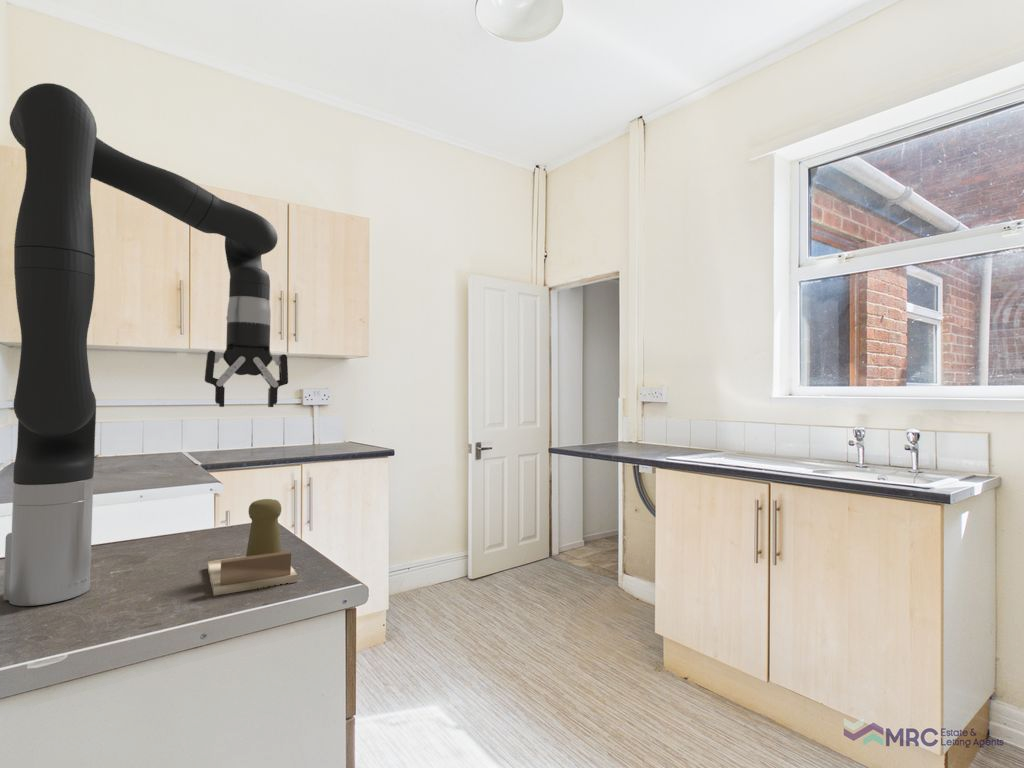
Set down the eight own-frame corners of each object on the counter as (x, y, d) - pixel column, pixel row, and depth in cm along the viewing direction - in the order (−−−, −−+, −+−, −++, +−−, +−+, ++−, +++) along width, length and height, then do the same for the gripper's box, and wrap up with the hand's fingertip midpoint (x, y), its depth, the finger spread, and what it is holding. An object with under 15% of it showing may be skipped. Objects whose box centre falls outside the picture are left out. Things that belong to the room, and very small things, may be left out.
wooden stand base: (207, 568, 94) (208, 541, 95) (281, 558, 101) (281, 532, 101) (213, 595, 82) (214, 564, 82) (297, 582, 88) (297, 553, 88)
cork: (246, 560, 95) (248, 497, 95) (283, 557, 97) (285, 495, 97) (242, 570, 89) (243, 504, 90) (281, 567, 91) (283, 502, 92)
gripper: (207, 317, 97) (205, 407, 96) (292, 323, 105) (290, 407, 104) (205, 321, 103) (203, 406, 103) (284, 327, 111) (283, 406, 110)
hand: (246, 406), depth 103 cm, fingers open, 8 cm apart
